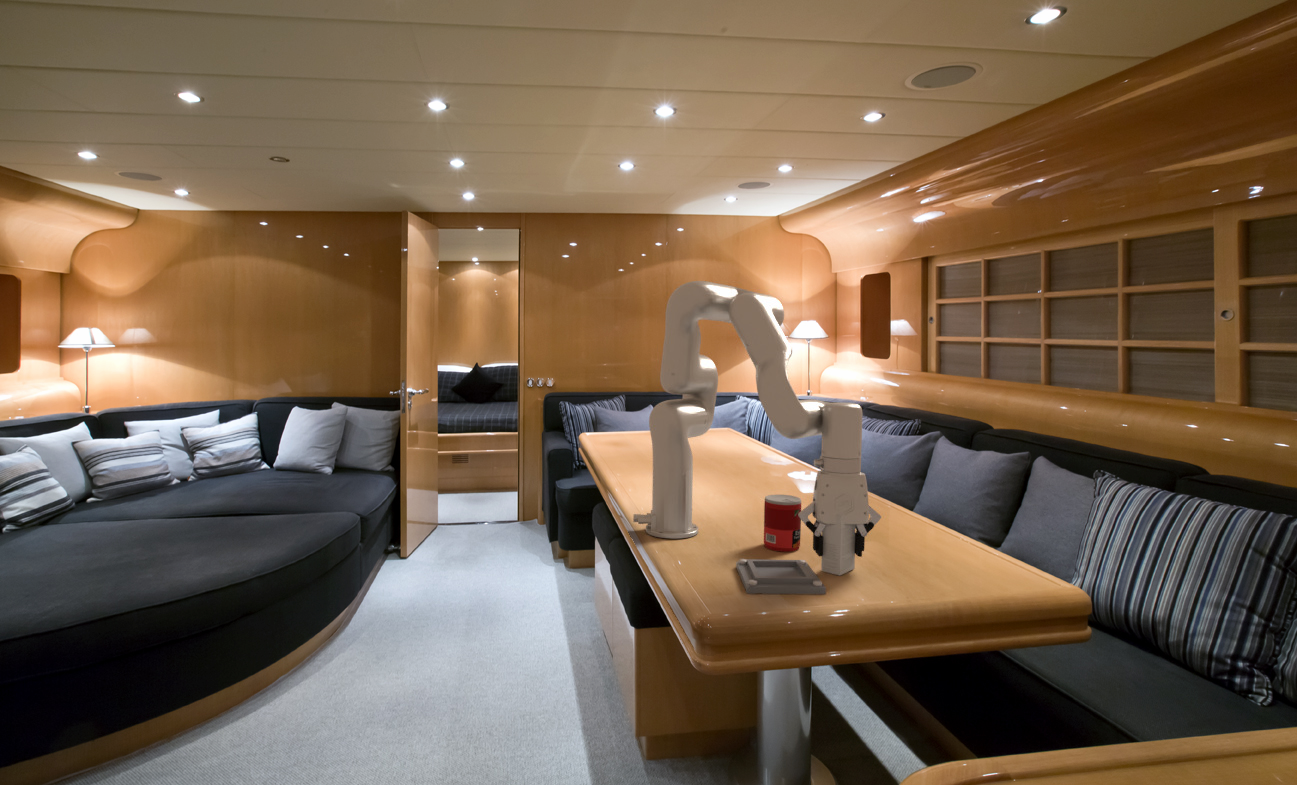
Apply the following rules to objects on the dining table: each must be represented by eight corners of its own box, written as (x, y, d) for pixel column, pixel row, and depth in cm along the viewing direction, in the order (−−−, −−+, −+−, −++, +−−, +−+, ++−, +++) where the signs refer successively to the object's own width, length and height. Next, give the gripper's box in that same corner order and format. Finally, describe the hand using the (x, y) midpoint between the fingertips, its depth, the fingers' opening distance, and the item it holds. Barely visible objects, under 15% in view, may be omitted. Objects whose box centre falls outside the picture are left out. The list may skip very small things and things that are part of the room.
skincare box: (835, 564, 131) (837, 506, 130) (854, 569, 128) (856, 510, 127) (819, 570, 126) (821, 511, 126) (839, 576, 123) (841, 515, 123)
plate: (747, 593, 114) (747, 581, 114) (736, 567, 128) (736, 556, 128) (825, 594, 114) (825, 582, 114) (806, 568, 128) (806, 557, 128)
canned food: (800, 553, 137) (802, 503, 137) (763, 550, 139) (764, 500, 138) (799, 543, 145) (800, 495, 144) (763, 540, 147) (764, 493, 146)
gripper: (801, 468, 122) (798, 560, 123) (892, 469, 122) (889, 561, 123) (792, 461, 130) (790, 548, 131) (878, 462, 130) (875, 549, 131)
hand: (838, 553), depth 127 cm, fingers closed on skincare box, 7 cm apart
